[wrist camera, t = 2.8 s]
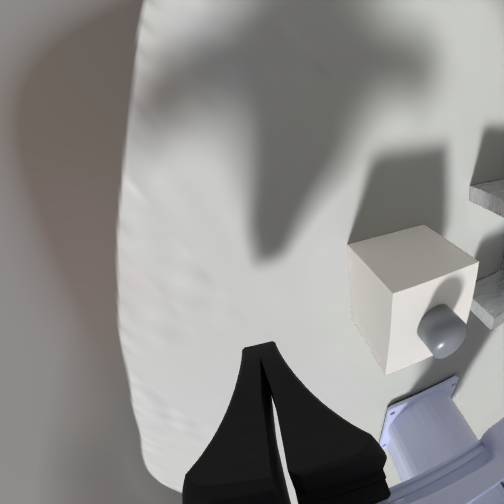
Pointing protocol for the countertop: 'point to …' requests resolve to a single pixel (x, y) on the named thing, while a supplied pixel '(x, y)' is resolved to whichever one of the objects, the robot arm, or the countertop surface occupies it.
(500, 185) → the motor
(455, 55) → the countertop surface
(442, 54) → the countertop surface
